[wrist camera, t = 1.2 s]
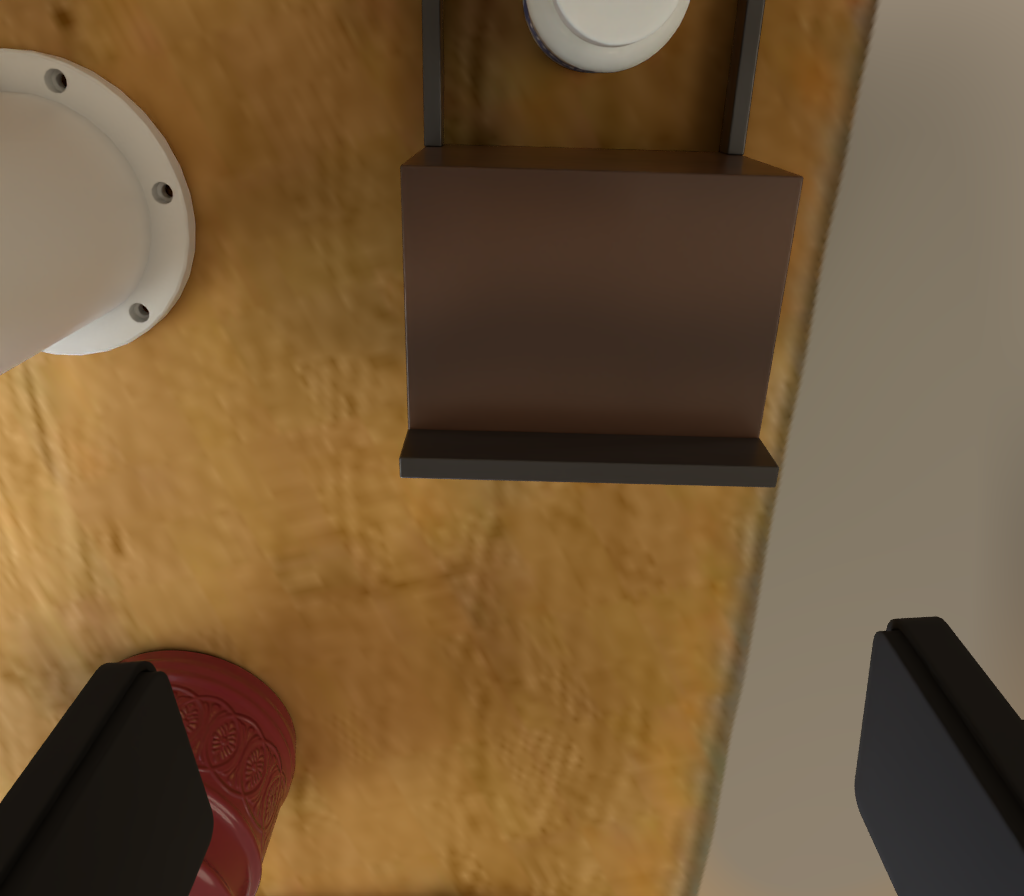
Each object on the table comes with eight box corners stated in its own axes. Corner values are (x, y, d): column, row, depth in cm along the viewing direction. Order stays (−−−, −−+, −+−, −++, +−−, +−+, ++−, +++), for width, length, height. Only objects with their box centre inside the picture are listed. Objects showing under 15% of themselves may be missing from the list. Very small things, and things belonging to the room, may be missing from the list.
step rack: (423, -145, 30) (373, -265, 19) (773, -134, 30) (912, -248, 19) (431, 368, 38) (399, 478, 28) (704, 375, 38) (775, 488, 28)
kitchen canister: (346, 750, 48) (263, 1085, 32) (192, 838, 51) (47, 1182, 35) (191, 605, 44) (5, 909, 28) (33, 711, 47) (-216, 1039, 31)
